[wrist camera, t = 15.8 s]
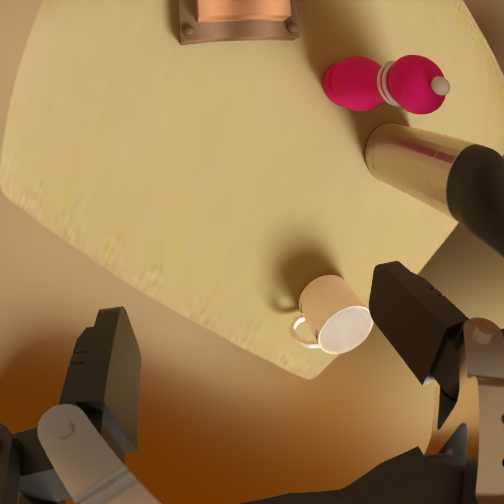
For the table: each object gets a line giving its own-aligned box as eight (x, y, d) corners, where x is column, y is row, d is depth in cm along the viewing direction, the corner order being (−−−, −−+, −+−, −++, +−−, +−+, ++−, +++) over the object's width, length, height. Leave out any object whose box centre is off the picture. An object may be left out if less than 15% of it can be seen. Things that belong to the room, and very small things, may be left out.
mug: (344, 266, 51) (372, 297, 43) (349, 307, 56) (373, 339, 47) (275, 291, 51) (294, 328, 42) (287, 331, 55) (304, 369, 47)
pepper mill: (320, 109, 39) (417, 124, 22) (317, 58, 36) (414, 39, 18) (366, 109, 40) (471, 128, 23) (363, 61, 37) (470, 55, 19)
